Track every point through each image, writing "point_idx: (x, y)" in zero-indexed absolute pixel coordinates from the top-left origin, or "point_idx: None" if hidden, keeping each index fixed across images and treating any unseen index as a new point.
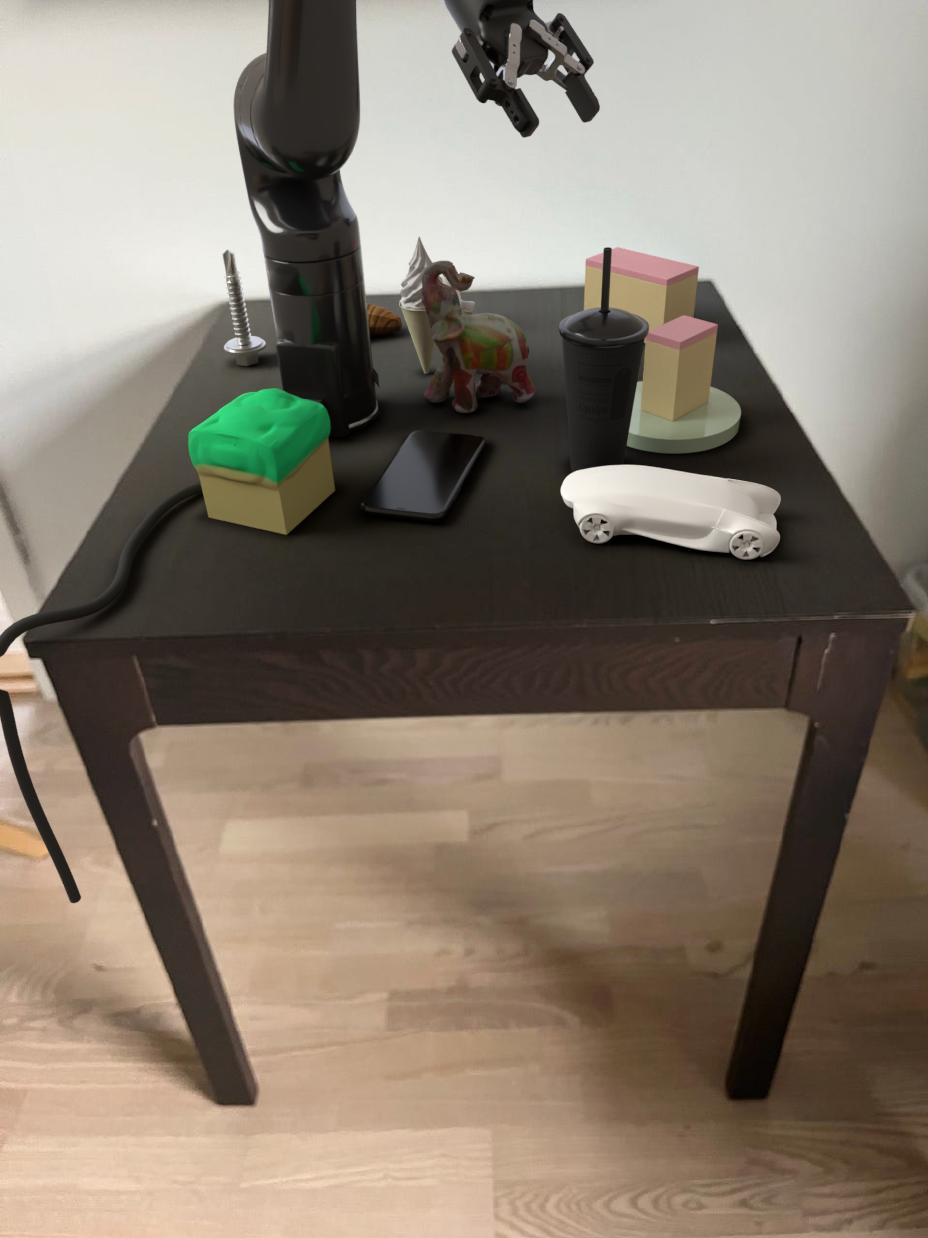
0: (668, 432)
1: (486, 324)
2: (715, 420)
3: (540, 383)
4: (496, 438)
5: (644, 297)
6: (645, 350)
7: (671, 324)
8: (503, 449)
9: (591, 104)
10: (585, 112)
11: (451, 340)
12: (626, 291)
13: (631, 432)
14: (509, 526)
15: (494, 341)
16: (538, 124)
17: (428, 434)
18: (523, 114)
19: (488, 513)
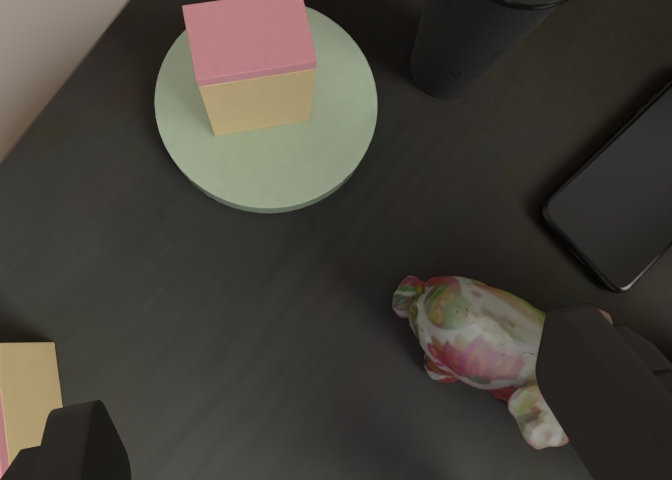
0: (327, 42)
1: (521, 316)
2: None
3: (340, 348)
4: (510, 221)
5: (21, 400)
6: (314, 76)
7: (251, 59)
8: (519, 187)
9: (94, 435)
10: (115, 473)
11: None
12: None
13: (370, 74)
14: (612, 24)
15: (507, 292)
16: (548, 314)
17: (610, 265)
18: (643, 357)
19: (619, 62)
